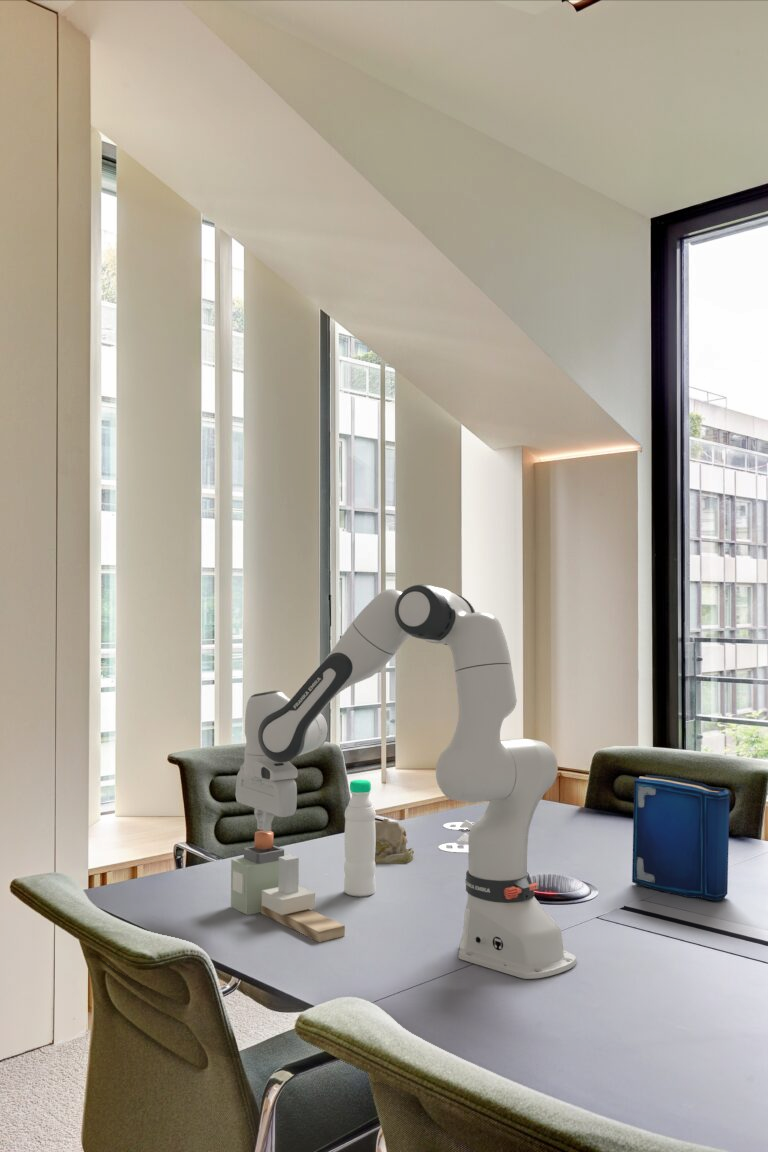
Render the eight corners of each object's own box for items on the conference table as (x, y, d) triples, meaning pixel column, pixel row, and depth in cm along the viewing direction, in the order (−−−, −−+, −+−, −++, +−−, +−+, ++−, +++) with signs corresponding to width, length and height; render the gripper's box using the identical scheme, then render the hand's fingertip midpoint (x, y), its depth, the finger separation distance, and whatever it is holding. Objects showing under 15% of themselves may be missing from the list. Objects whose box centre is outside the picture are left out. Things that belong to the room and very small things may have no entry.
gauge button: (276, 847, 203) (276, 833, 203) (260, 850, 201) (260, 835, 201) (267, 843, 206) (267, 829, 207) (251, 846, 204) (251, 832, 204)
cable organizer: (444, 824, 283) (444, 812, 284) (524, 826, 281) (524, 814, 281) (437, 853, 249) (437, 840, 249) (529, 856, 246) (529, 843, 246)
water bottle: (371, 898, 209) (372, 784, 209) (340, 896, 210) (341, 783, 211) (378, 889, 215) (378, 778, 216) (348, 887, 217) (348, 777, 218)
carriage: (315, 907, 195) (315, 858, 195) (281, 915, 190) (282, 864, 190) (294, 898, 201) (294, 850, 201) (261, 905, 196) (262, 856, 196)
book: (734, 898, 210) (733, 785, 211) (721, 905, 205) (720, 789, 206) (644, 879, 225) (644, 773, 225) (630, 885, 219) (629, 777, 220)
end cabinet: (295, 904, 204) (296, 848, 205) (245, 915, 197) (245, 857, 197) (279, 896, 210) (279, 841, 210) (229, 906, 202) (229, 850, 203)
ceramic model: (354, 862, 239) (354, 822, 239) (365, 850, 250) (365, 812, 250) (408, 865, 236) (409, 825, 236) (417, 854, 247) (417, 815, 247)
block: (344, 935, 184) (344, 925, 185) (318, 942, 181) (319, 931, 181) (285, 907, 202) (285, 897, 202) (260, 912, 198) (260, 903, 198)
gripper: (228, 760, 211) (228, 823, 210) (276, 774, 194) (275, 842, 194) (253, 758, 215) (253, 819, 214) (302, 771, 198) (301, 837, 198)
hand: (264, 830), depth 204 cm, fingers closed
